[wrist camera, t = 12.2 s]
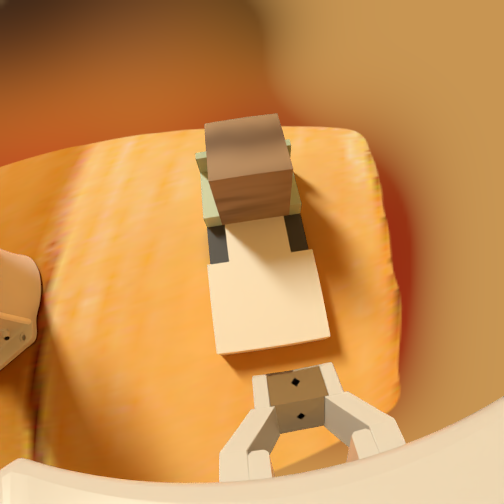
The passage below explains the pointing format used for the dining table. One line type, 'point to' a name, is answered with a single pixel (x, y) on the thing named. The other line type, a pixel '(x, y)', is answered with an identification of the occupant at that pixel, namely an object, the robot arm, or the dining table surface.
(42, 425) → the dining table surface
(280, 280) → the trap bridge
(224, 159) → the walnut block
